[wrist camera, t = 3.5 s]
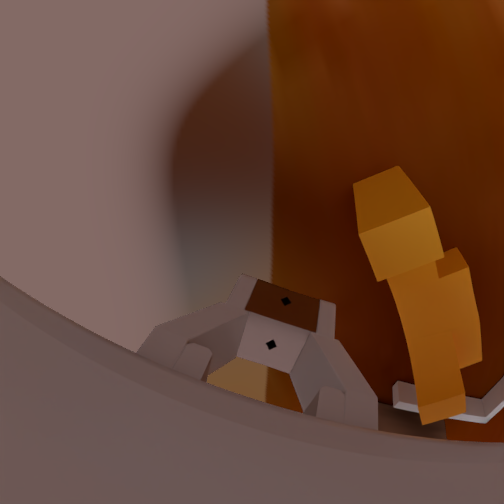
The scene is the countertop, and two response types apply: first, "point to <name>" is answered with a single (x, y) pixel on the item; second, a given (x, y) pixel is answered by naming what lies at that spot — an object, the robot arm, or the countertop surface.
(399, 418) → the block
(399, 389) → the grey staple-shaped wire
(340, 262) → the countertop surface
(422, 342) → the pipe clamp
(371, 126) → the countertop surface
